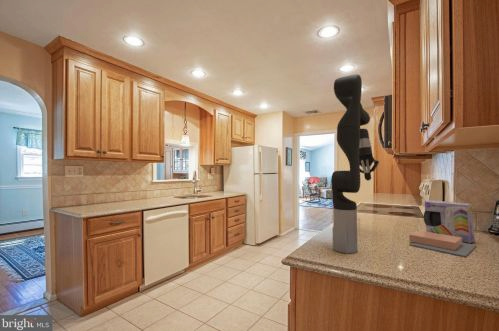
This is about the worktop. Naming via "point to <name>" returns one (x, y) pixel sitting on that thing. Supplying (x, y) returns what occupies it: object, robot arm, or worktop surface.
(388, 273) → the worktop surface
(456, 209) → the cake pan box
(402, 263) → the worktop surface
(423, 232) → the tile
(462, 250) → the mat
